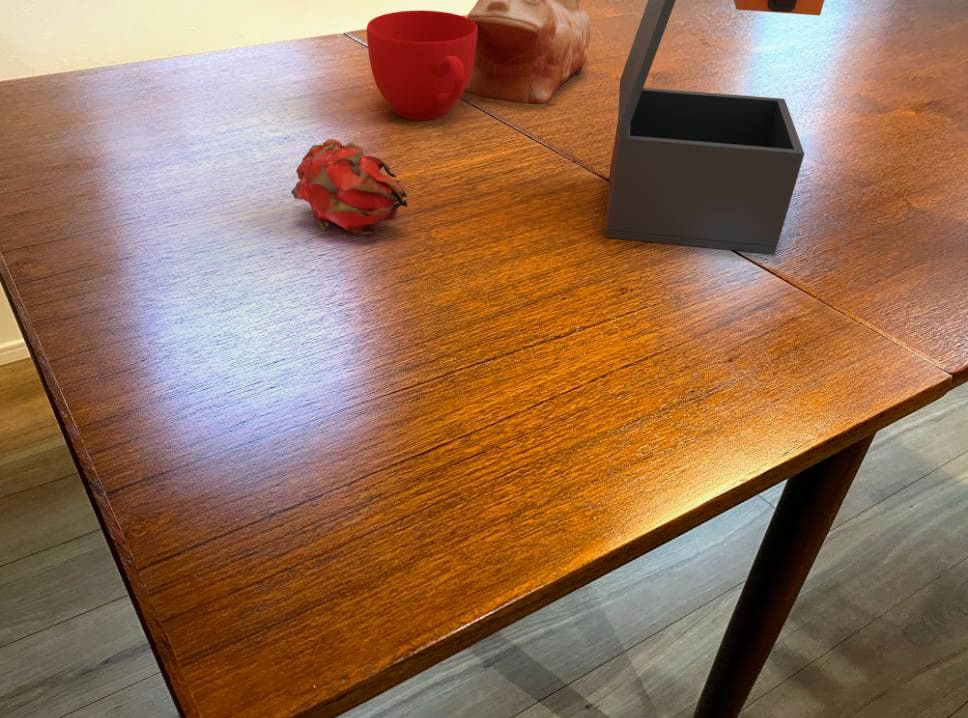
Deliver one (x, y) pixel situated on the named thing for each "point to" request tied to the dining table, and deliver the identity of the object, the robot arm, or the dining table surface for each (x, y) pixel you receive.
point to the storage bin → (704, 171)
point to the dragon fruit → (347, 187)
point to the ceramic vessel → (527, 47)
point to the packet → (806, 4)
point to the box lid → (641, 58)
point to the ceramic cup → (421, 60)
